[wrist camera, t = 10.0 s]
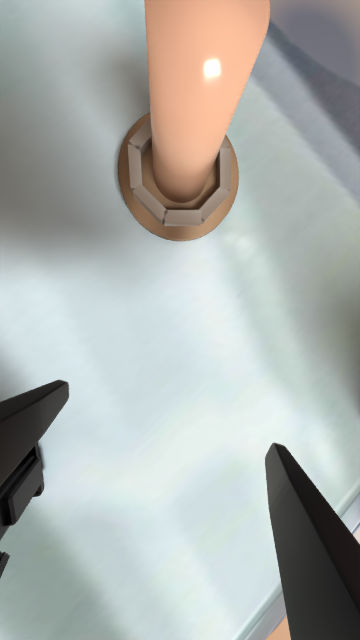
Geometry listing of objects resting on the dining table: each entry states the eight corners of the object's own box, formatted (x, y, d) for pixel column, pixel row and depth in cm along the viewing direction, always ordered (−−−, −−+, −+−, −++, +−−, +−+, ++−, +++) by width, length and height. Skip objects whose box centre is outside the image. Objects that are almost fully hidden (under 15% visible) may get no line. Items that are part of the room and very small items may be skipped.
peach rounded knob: (188, 213, 18) (226, 104, 8) (143, 181, 17) (119, 14, 7) (216, 168, 18) (293, -8, 8) (171, 133, 17) (189, -114, 7)
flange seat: (124, 241, 19) (120, 235, 17) (115, 113, 17) (110, 90, 15) (234, 240, 20) (243, 234, 18) (234, 119, 18) (243, 98, 16)
